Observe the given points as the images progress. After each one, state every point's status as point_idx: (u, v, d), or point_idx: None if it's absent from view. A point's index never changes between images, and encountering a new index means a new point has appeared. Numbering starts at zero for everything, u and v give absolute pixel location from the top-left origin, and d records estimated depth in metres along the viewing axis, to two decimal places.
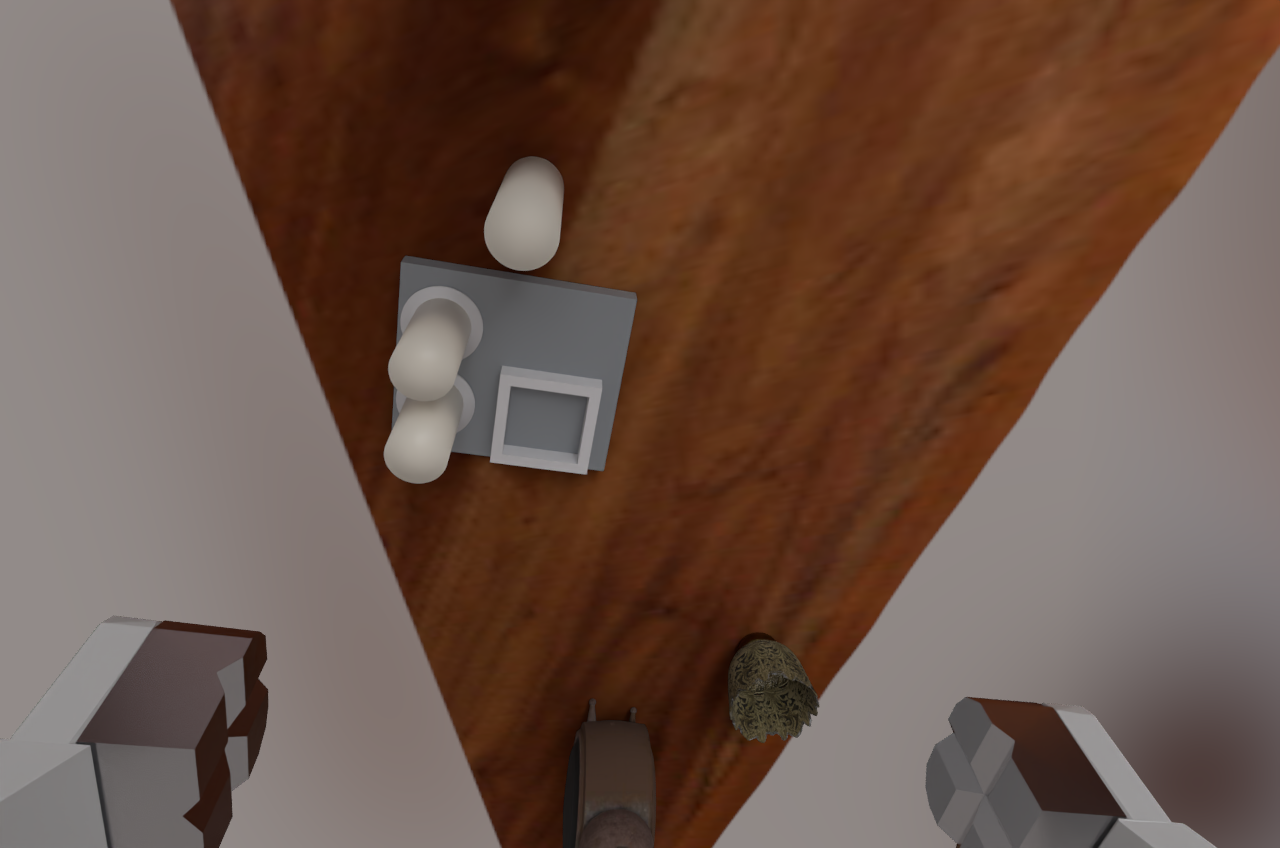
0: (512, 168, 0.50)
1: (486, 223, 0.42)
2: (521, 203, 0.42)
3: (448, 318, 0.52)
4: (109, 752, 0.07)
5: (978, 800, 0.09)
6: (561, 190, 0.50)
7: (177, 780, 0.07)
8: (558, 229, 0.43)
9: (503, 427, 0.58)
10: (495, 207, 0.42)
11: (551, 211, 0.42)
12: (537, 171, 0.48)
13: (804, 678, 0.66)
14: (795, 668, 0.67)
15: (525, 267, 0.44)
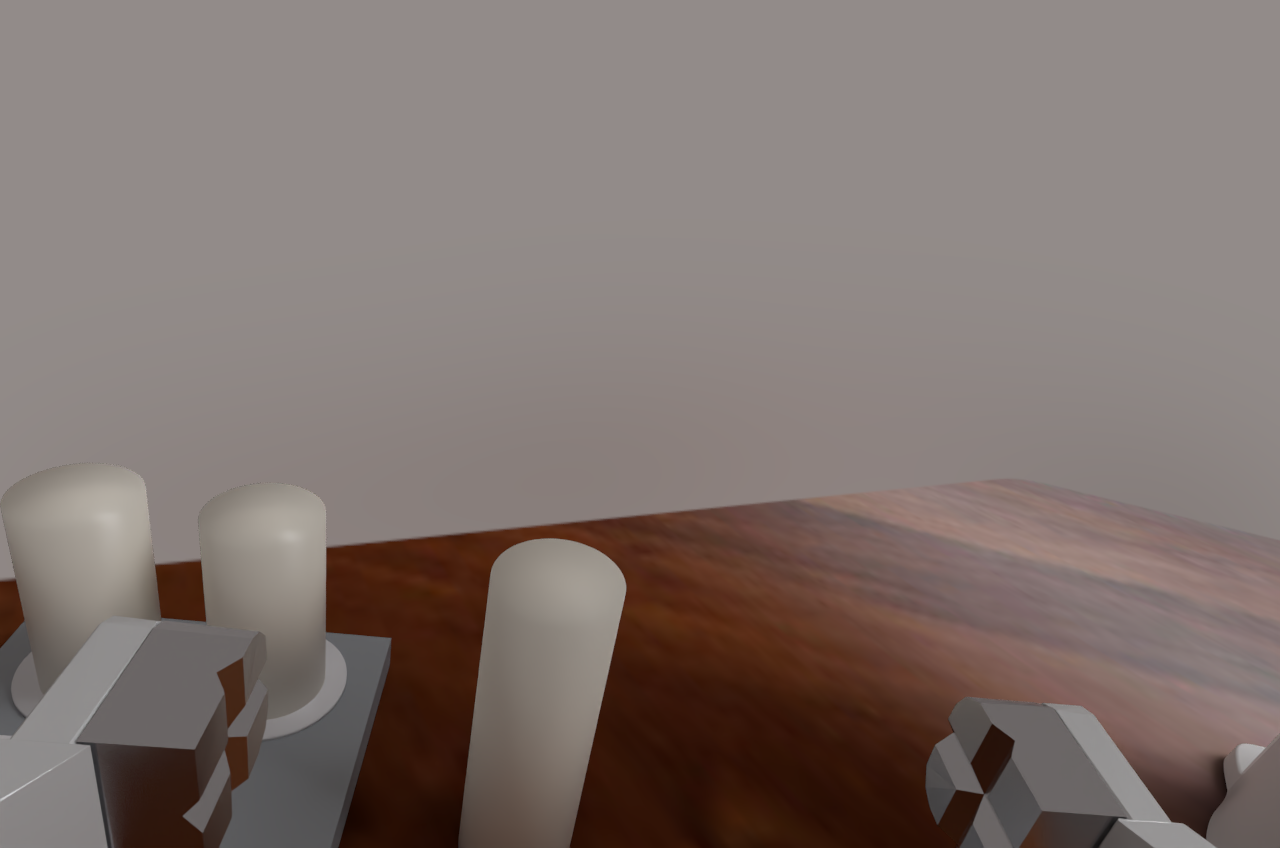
0: None
1: (568, 541, 0.25)
2: (612, 580, 0.24)
3: (314, 635, 0.29)
4: (109, 752, 0.07)
5: (978, 800, 0.09)
6: (550, 821, 0.26)
7: (177, 780, 0.07)
8: (578, 625, 0.22)
9: None
10: (596, 552, 0.25)
11: (608, 618, 0.23)
12: None
13: None
14: None
15: (497, 582, 0.23)
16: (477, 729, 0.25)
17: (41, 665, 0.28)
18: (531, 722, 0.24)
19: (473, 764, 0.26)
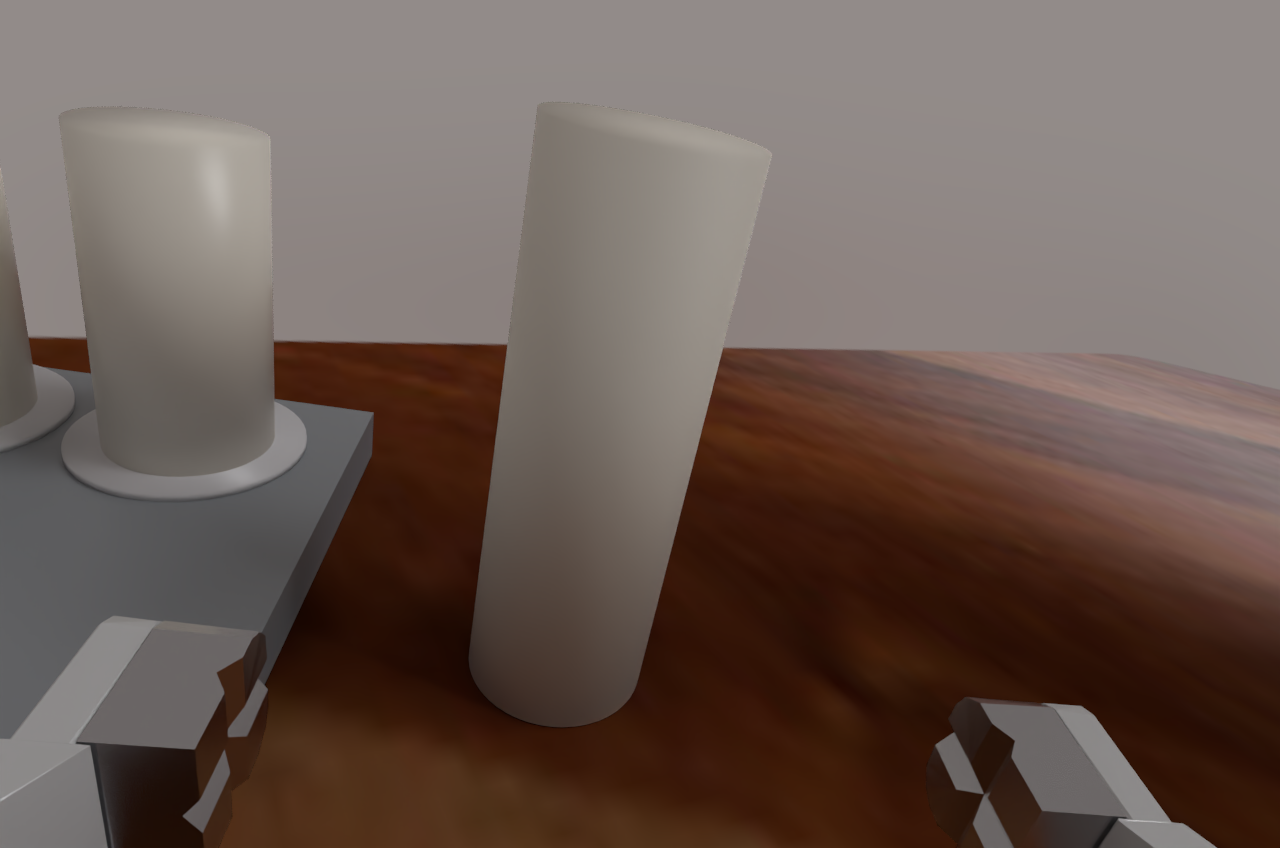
0: None
1: (660, 117, 0.15)
2: (744, 144, 0.14)
3: (251, 346, 0.19)
4: (109, 752, 0.07)
5: (978, 800, 0.09)
6: (622, 593, 0.16)
7: (177, 780, 0.07)
8: (703, 153, 0.12)
9: None
10: (709, 130, 0.15)
11: (751, 164, 0.13)
12: None
13: None
14: None
15: (550, 111, 0.13)
16: (506, 423, 0.15)
17: None
18: (605, 374, 0.13)
19: (498, 494, 0.16)
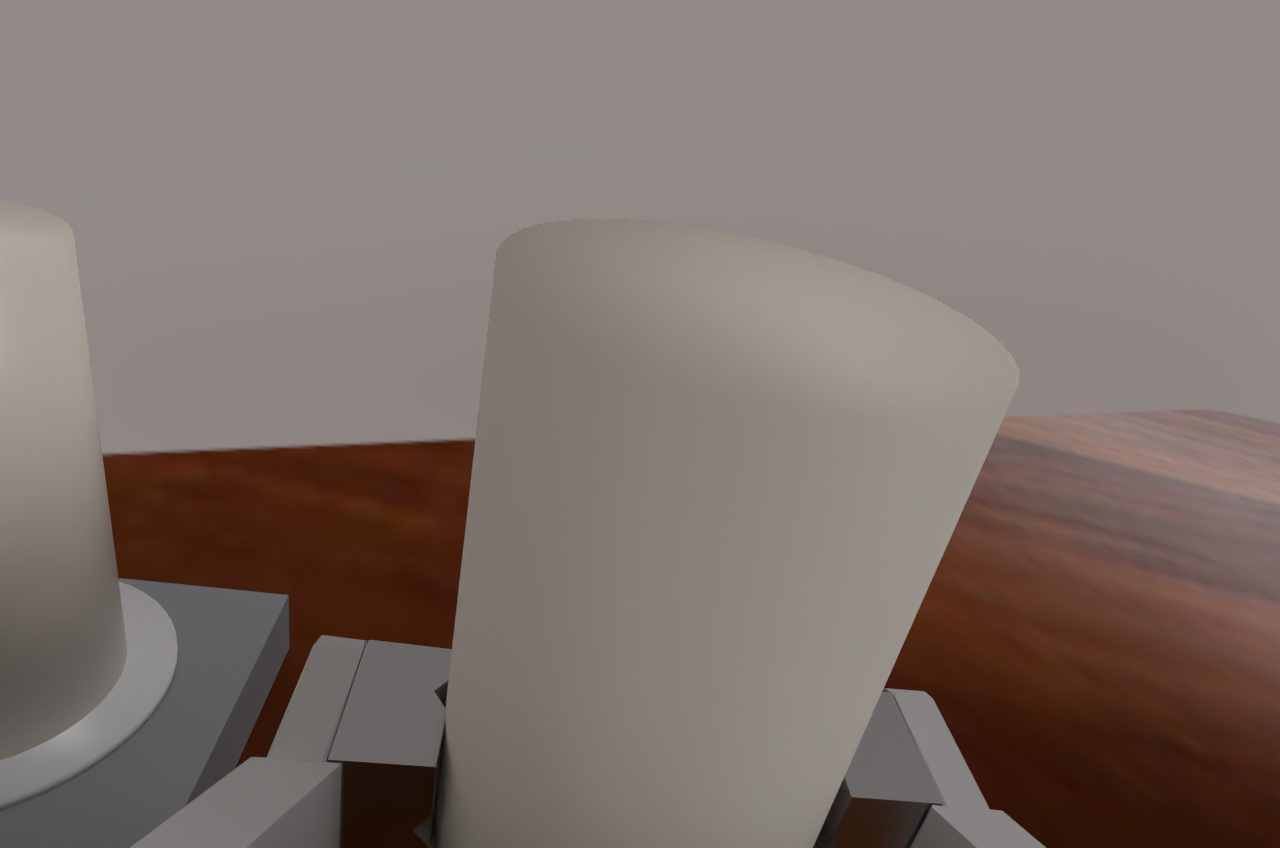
0: None
1: (741, 236, 0.08)
2: (933, 315, 0.07)
3: (56, 567, 0.12)
4: (356, 770, 0.07)
5: None
6: None
7: (414, 796, 0.07)
8: (909, 413, 0.05)
9: None
10: (837, 264, 0.08)
11: (998, 408, 0.05)
12: None
13: None
14: None
15: (523, 273, 0.06)
16: (446, 836, 0.08)
17: None
18: (649, 835, 0.06)
19: None
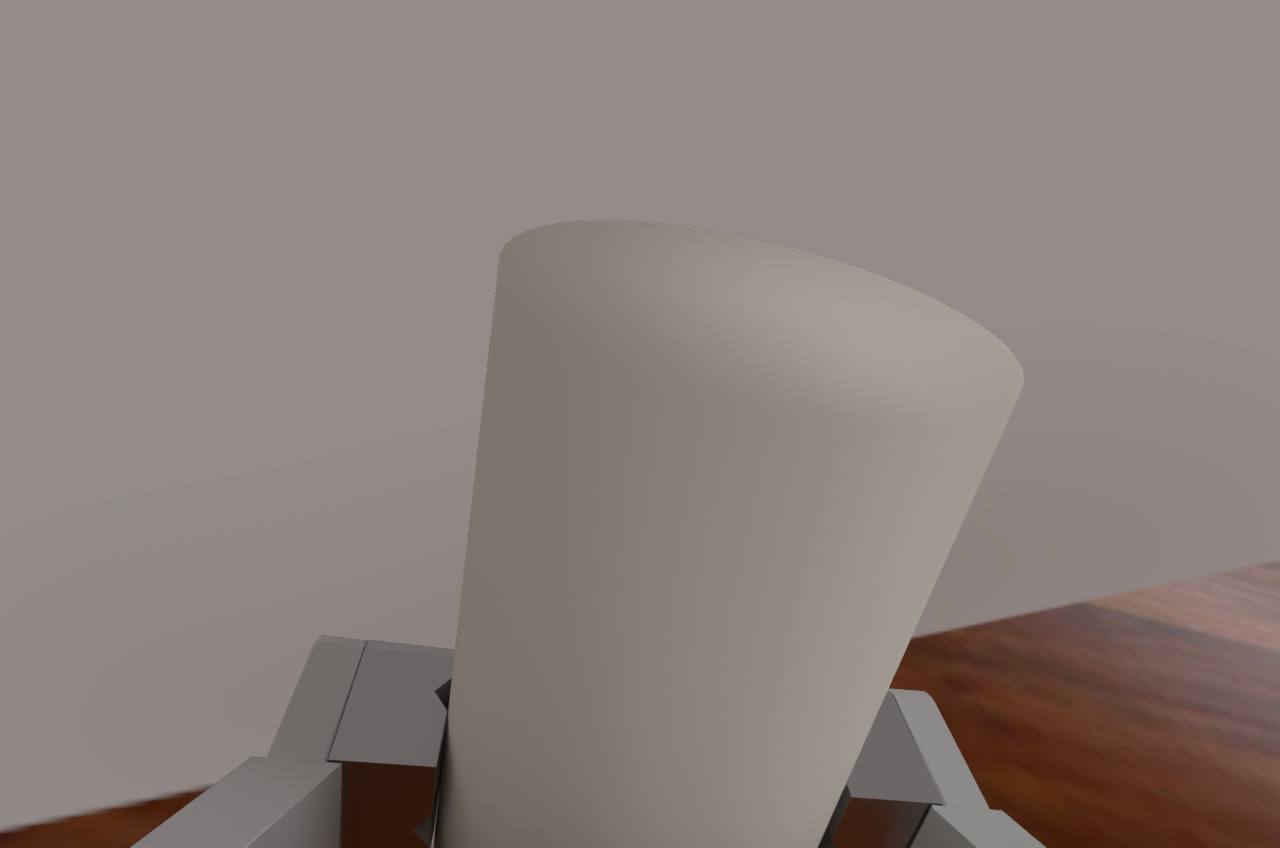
0: None
1: (744, 237, 0.08)
2: (937, 317, 0.07)
3: None
4: (356, 770, 0.07)
5: None
6: None
7: (414, 796, 0.07)
8: (914, 415, 0.05)
9: None
10: (841, 265, 0.08)
11: (1003, 410, 0.05)
12: None
13: None
14: None
15: (526, 275, 0.06)
16: (449, 838, 0.08)
17: None
18: (653, 837, 0.06)
19: None
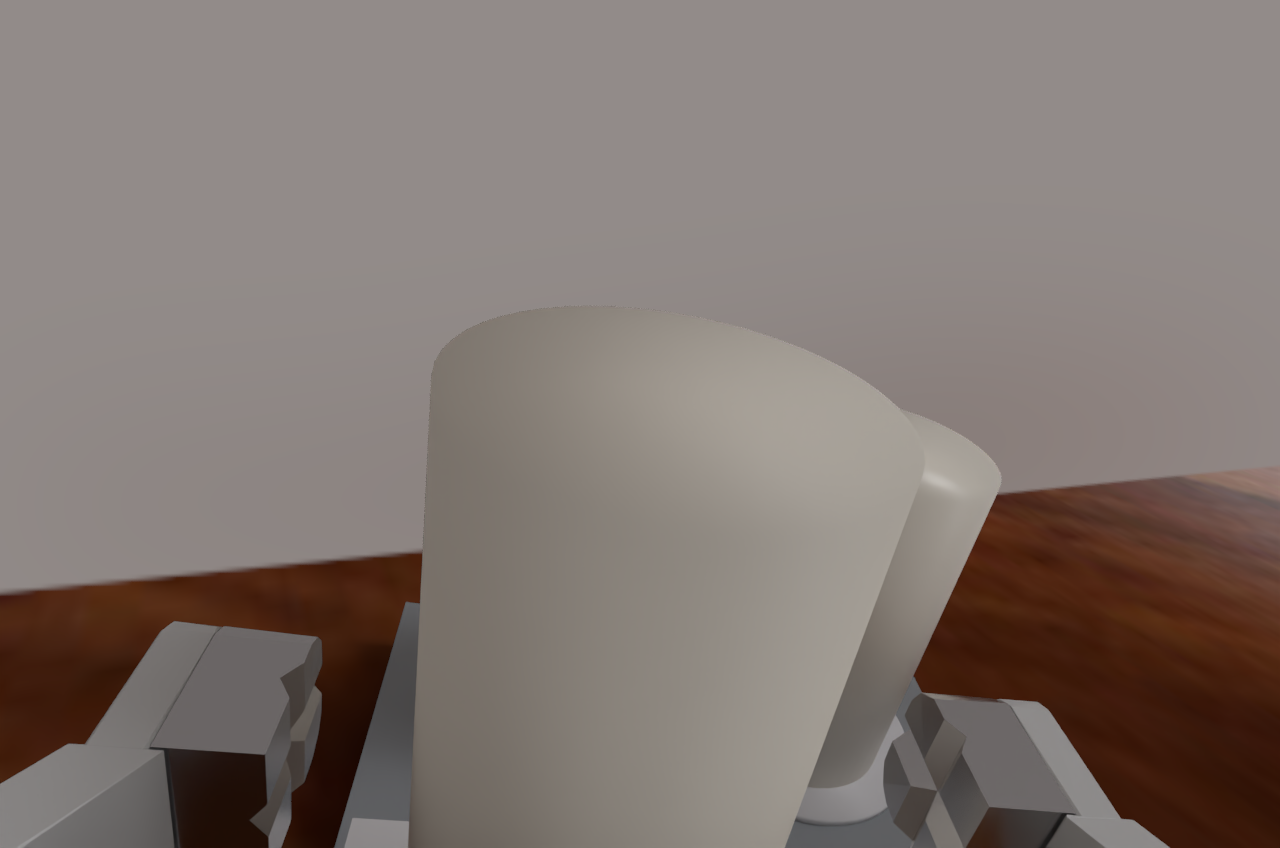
0: None
1: (682, 316, 0.08)
2: (855, 401, 0.07)
3: None
4: (181, 757, 0.07)
5: (932, 797, 0.09)
6: None
7: (246, 785, 0.07)
8: (801, 526, 0.05)
9: None
10: (774, 342, 0.08)
11: (897, 508, 0.06)
12: None
13: None
14: None
15: (456, 387, 0.06)
16: None
17: None
18: None
19: None
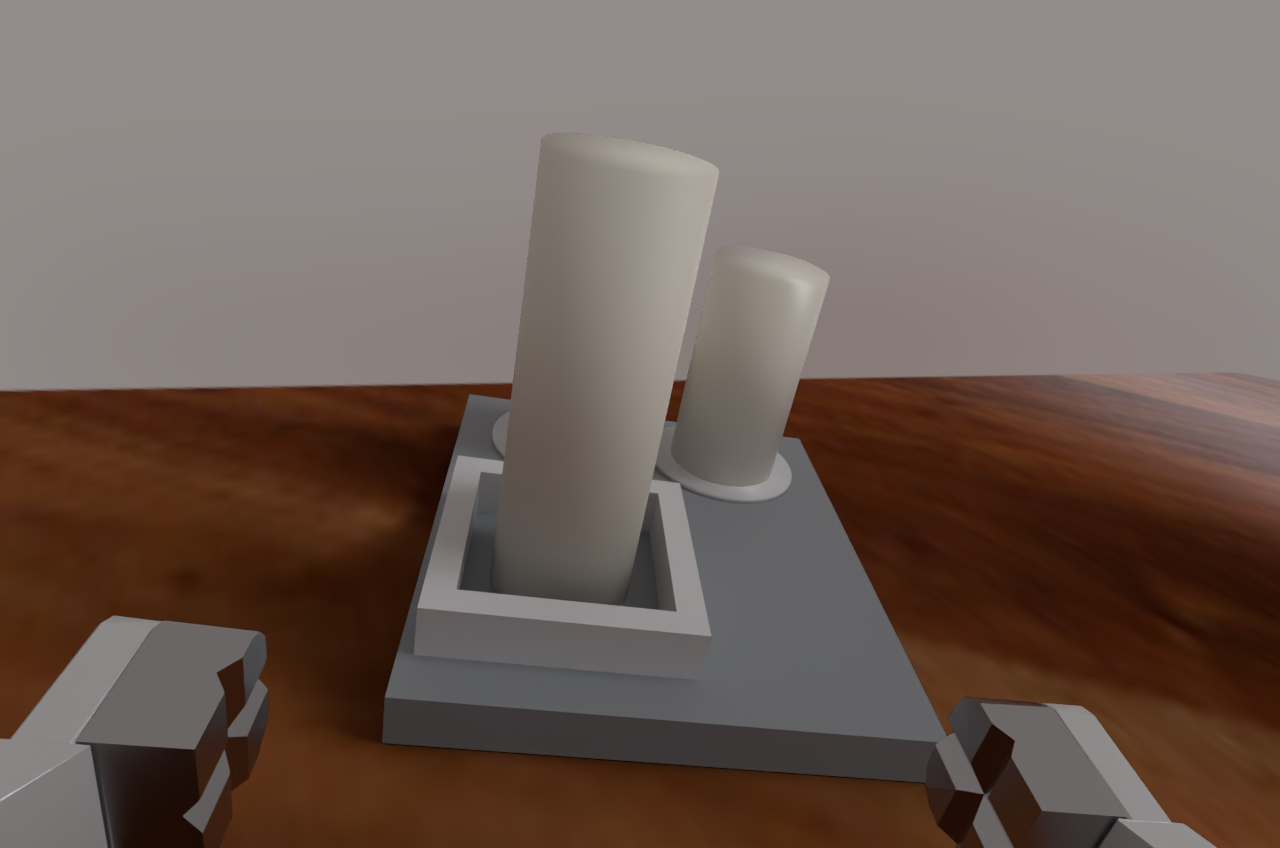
0: None
1: (636, 141, 0.20)
2: (699, 163, 0.18)
3: (792, 401, 0.29)
4: (109, 752, 0.07)
5: (978, 800, 0.09)
6: (612, 514, 0.20)
7: (177, 780, 0.07)
8: (664, 175, 0.16)
9: None
10: (674, 151, 0.19)
11: (701, 181, 0.17)
12: None
13: None
14: None
15: (551, 143, 0.17)
16: (520, 381, 0.19)
17: None
18: (596, 340, 0.18)
19: (514, 438, 0.20)
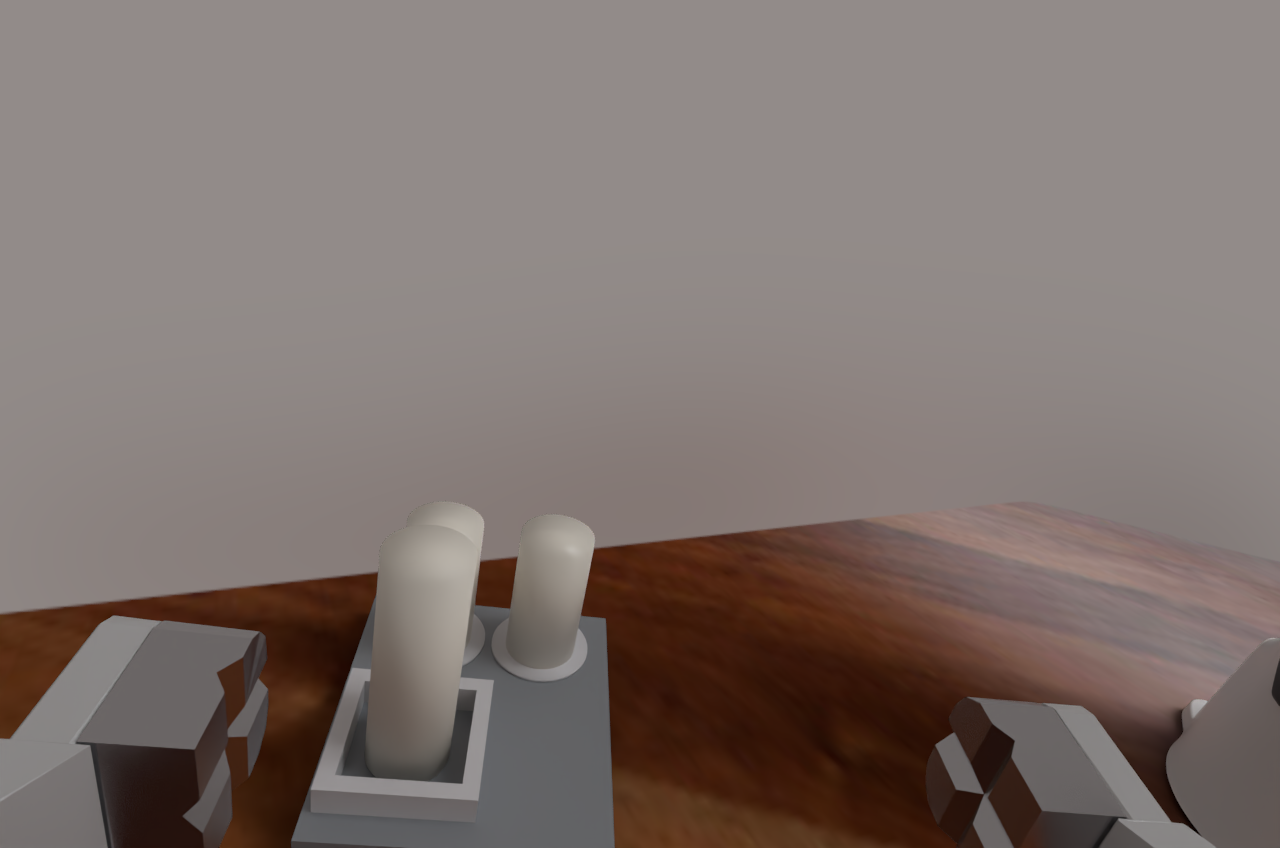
0: None
1: (441, 527, 0.36)
2: (468, 553, 0.34)
3: (579, 614, 0.45)
4: (109, 752, 0.07)
5: (978, 800, 0.09)
6: (427, 729, 0.36)
7: (177, 780, 0.07)
8: (437, 581, 0.32)
9: None
10: (461, 534, 0.35)
11: (460, 578, 0.33)
12: None
13: None
14: None
15: (384, 553, 0.33)
16: (373, 660, 0.35)
17: None
18: (408, 651, 0.34)
19: (371, 687, 0.36)
